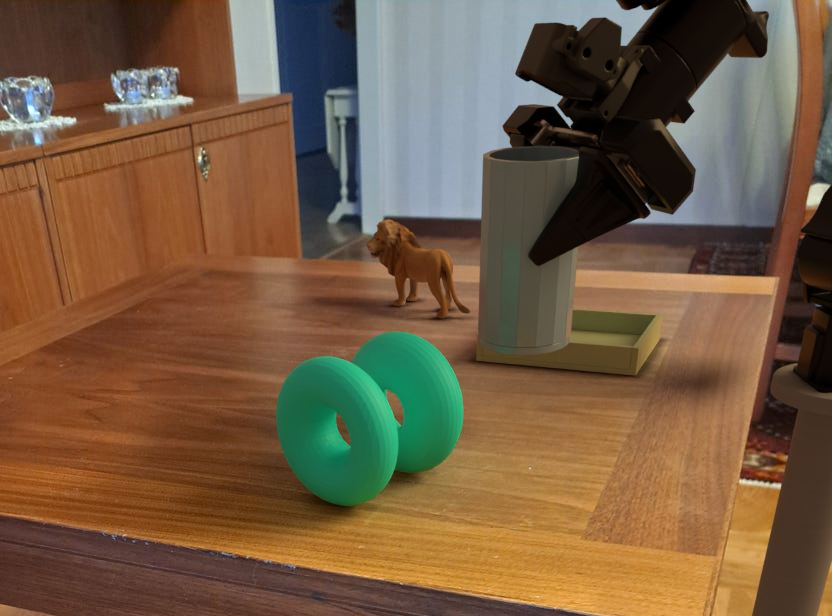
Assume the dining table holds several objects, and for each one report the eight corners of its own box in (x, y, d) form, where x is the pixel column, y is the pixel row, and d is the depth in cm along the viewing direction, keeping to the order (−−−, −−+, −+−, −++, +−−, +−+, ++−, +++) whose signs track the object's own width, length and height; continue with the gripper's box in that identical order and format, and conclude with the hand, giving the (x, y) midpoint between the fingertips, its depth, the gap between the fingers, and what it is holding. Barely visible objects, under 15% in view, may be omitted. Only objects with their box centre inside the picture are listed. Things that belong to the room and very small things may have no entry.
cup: (565, 325, 75) (580, 143, 68) (573, 354, 70) (590, 159, 62) (477, 327, 76) (482, 147, 69) (477, 356, 70) (483, 163, 63)
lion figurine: (361, 302, 112) (359, 221, 107) (393, 294, 115) (392, 214, 110) (454, 323, 103) (456, 234, 98) (486, 313, 106) (489, 227, 101)
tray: (659, 339, 95) (663, 314, 93) (635, 375, 85) (639, 348, 84) (513, 328, 100) (514, 303, 99) (476, 360, 91) (476, 334, 90)
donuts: (470, 479, 67) (474, 339, 62) (378, 529, 61) (374, 378, 56) (366, 448, 73) (361, 317, 68) (273, 490, 67) (260, 350, 62)
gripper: (533, -24, 68) (393, 159, 72) (679, -43, 53) (492, 189, 57) (619, 94, 74) (485, 257, 78) (772, 106, 59) (597, 308, 63)
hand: (510, 252), depth 69 cm, fingers closed on cup, 7 cm apart
